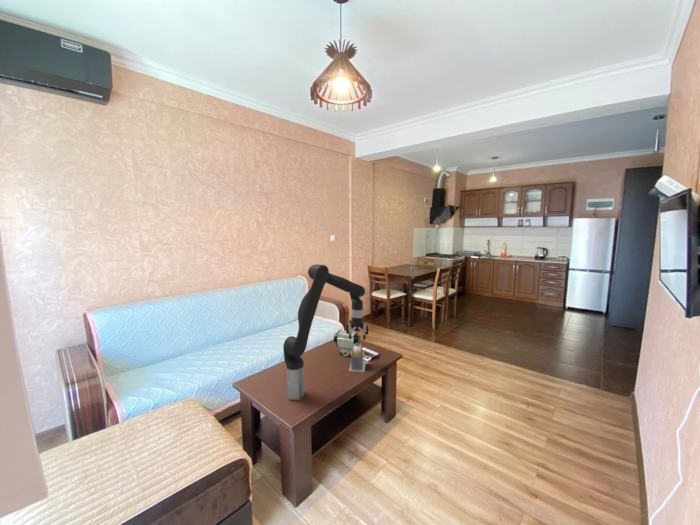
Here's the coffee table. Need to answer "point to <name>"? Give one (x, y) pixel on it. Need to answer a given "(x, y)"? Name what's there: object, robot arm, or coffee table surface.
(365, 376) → the coffee table surface
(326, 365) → the coffee table surface
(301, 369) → the robot arm
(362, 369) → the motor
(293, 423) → the coffee table surface
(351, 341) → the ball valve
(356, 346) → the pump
